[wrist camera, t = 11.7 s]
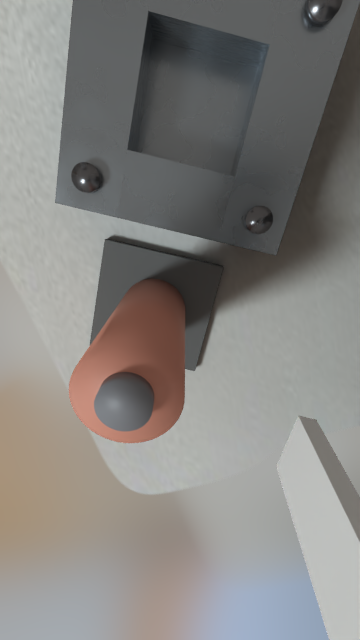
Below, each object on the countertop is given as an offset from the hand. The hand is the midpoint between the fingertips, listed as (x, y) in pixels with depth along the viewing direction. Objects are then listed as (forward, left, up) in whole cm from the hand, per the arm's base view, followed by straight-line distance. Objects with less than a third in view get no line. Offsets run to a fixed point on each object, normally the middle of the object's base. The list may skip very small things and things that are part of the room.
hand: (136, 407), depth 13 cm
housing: (+1, -13, -13) cm, 19 cm away
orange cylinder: (+1, 0, -13) cm, 13 cm away
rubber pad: (+1, 0, -13) cm, 13 cm away
